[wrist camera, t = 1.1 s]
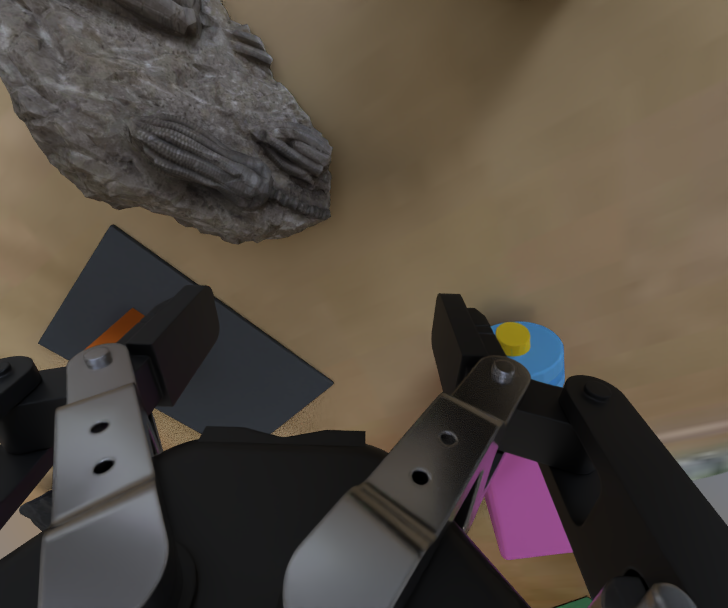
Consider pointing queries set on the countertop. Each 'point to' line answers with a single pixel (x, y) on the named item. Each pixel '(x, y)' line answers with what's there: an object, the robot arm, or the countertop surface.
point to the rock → (39, 510)
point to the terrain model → (578, 603)
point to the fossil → (166, 113)
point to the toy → (523, 476)
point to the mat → (220, 367)
